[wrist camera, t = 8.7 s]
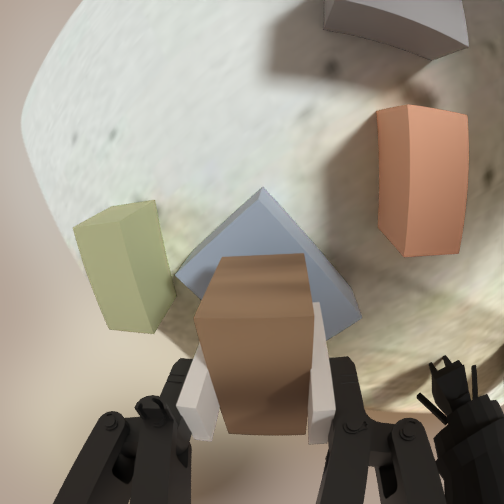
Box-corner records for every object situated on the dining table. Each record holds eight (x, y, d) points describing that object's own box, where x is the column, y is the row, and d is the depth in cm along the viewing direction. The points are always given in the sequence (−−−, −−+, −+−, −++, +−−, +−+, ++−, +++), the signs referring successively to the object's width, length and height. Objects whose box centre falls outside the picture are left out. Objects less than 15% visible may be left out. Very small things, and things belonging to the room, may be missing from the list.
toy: (469, 314, 20) (556, 479, 1) (466, 367, 23) (518, 501, 4) (398, 351, 22) (449, 548, 4) (406, 397, 25) (437, 544, 7)
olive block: (112, 206, 19) (72, 227, 15) (155, 199, 19) (119, 221, 14) (136, 294, 22) (109, 329, 18) (177, 295, 22) (153, 334, 17)
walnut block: (221, 256, 14) (193, 317, 9) (304, 253, 13) (314, 316, 8) (240, 369, 17) (228, 433, 12) (303, 368, 16) (305, 434, 12)
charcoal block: (322, 30, 13) (335, -2, 8) (324, -13, 11) (334, -49, 6) (431, 60, 12) (469, 47, 8) (428, 18, 10) (460, -3, 6)
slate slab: (193, 249, 20) (174, 275, 17) (263, 185, 18) (258, 199, 14) (281, 332, 22) (279, 366, 19) (350, 286, 20) (362, 317, 16)
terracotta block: (375, 110, 15) (407, 104, 10) (426, 116, 14) (467, 115, 10) (377, 226, 18) (403, 257, 13) (424, 225, 17) (458, 253, 13)
